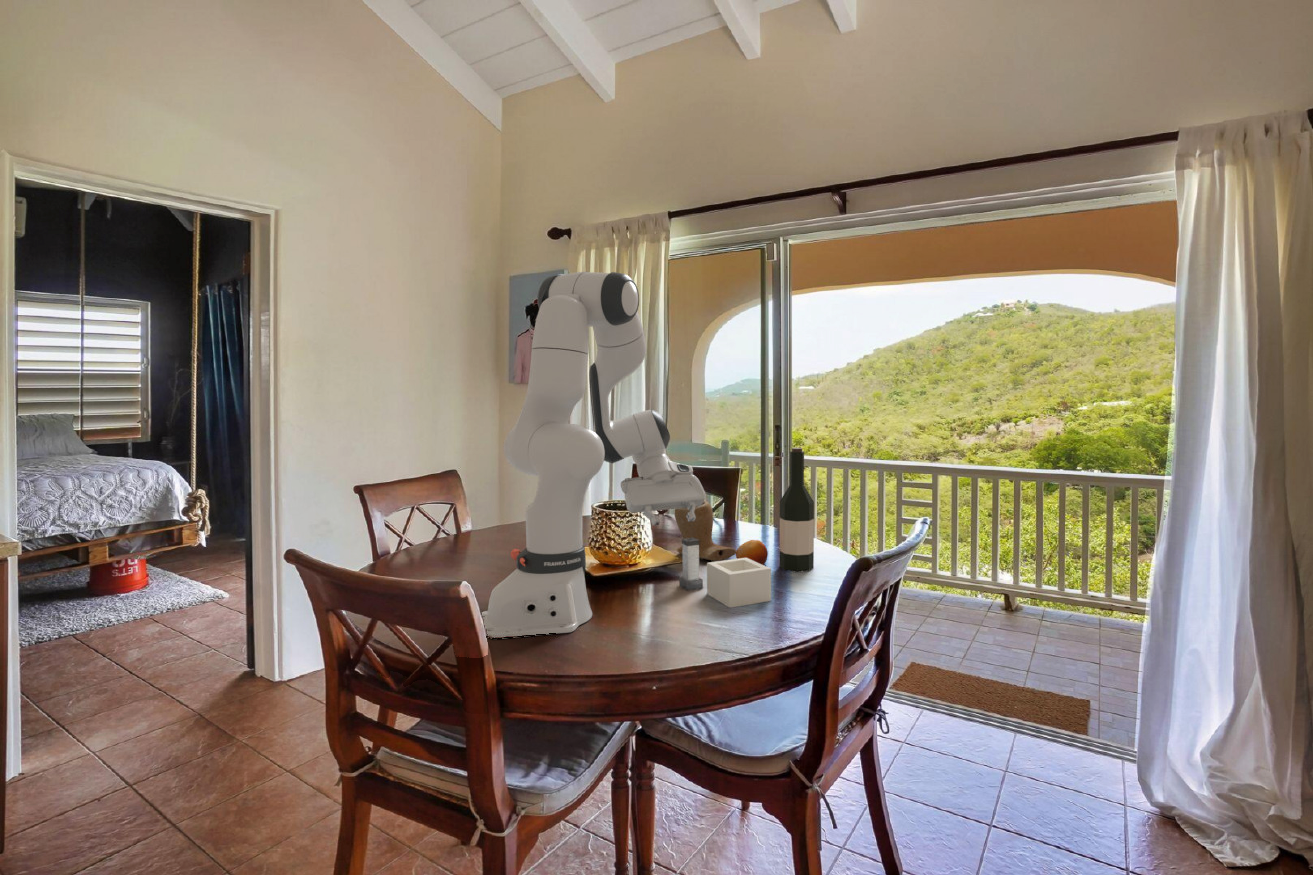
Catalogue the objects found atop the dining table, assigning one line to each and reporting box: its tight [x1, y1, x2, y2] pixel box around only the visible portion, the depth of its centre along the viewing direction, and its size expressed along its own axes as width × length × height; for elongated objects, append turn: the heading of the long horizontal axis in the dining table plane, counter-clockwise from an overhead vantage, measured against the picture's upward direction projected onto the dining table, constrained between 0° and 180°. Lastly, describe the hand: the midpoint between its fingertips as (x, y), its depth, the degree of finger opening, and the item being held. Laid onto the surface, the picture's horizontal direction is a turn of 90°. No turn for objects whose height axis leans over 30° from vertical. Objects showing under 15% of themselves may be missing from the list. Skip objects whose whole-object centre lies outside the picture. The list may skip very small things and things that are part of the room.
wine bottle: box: [779, 447, 815, 573], centre depth 165 cm, size 8×8×30 cm
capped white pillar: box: [678, 538, 704, 592], centre depth 151 cm, size 4×4×11 cm
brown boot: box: [674, 500, 737, 562], centre depth 176 cm, size 15×12×15 cm
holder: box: [706, 558, 772, 608], centre depth 143 cm, size 10×10×7 cm
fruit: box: [735, 539, 769, 567], centre depth 167 cm, size 8×8×8 cm
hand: (674, 521), depth 158 cm, fingers open, 8 cm apart
